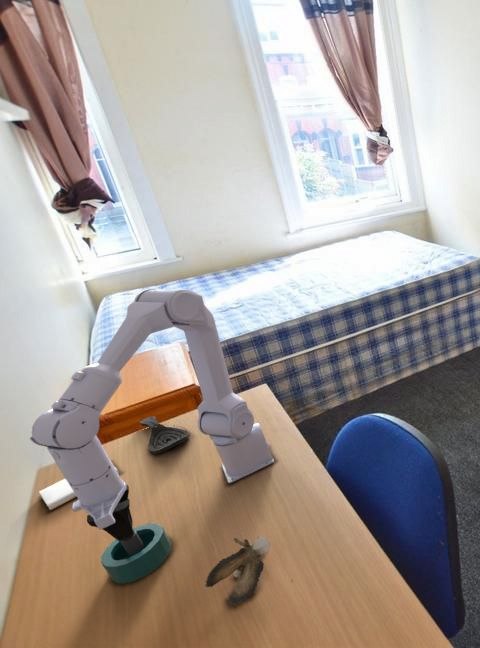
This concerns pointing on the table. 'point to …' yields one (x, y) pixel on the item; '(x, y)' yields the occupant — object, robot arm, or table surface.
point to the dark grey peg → (132, 544)
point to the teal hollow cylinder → (137, 555)
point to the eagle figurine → (241, 569)
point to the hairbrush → (163, 435)
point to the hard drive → (58, 493)
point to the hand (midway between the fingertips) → (125, 532)
